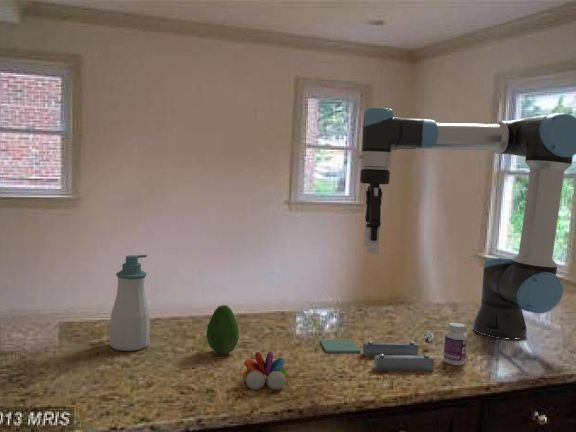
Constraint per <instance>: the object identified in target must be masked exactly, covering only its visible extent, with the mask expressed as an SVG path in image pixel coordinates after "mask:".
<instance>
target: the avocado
mask: <svg viewBox="0 0 576 432" xmlns="http://www.w3.org/2000/svg"><path fill="white" fill-rule="evenodd" d="M239 339H240V329H239V325H238V322H237V320H236V318H235V314H234V312H233V310H232V308H231V307H229V305H225V304H222V305H219V306H217V308H216V309H215V310H214V311H213V313H212V316H211V318H210V320H209V321H208V324H207V328H206V340H207V343H208V345H209V347H210V348H211V349H212V350H213V351H214V352H215V353H218V354H223V355H225V354H229V353H231V352H233V351H234V350H235V348H236V347H237V345H238V341H239Z"/></svg>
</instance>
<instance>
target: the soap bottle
mask: <svg viewBox="0 0 576 432" xmlns="http://www.w3.org/2000/svg"><path fill="white" fill-rule="evenodd" d="M141 258H147V254H137V255H134V254H132V255H131V254H130V255H125V262H124V263H122V264H121V266H122V269H121V270H119V271H117V272H116V273H115V276H116V277H117V290H116V294H115V300H114V302H113V307H112V311H111V313H110V323H109V339H108V340H109V341H108V342H109V346H110V347H111V348H112V349H114V350H115V351H122V352H134V351H140V350H143V349H146V347H148V346H149V345H150V340H151V339H150V337H151V336H150V335H151V334H150V333H151V331H150V330H151V328H150V327H151V323H150V309H149V305H148V301H147V296H146V291H145V290H146V289H145V279H146V277H147V272H146V271H144V270H142V264H141V263H139V259H141Z"/></svg>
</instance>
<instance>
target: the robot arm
mask: <svg viewBox="0 0 576 432" xmlns="http://www.w3.org/2000/svg"><path fill="white" fill-rule="evenodd" d="M362 121H363V122H362V137H361V138H362V139H361V140H362V141H361V142H362V143H361V154H359V156H358V158H359V159H360V160H361V165H360V166H361V167H363V168H362V169H360V177H359V179H360V180H359V182H360V183H361V184H369V186H367V190H366V191H365V197H366V198H365V202H366V203H365V204H366V209H365V217H364V218H365V220H364V221H365V223H364V224H365V227H364V242H363V243H364V244H363V245H364V247H367V248H366V250H367V251H366V254H369V255H370V254H372V255H373V254H374V255H378V254H379V249H380V248H379V247H380V246H379V245H380V229H381V225H382V223H381V215H382V213H381V210H382V209H381V207H382V197H383V191H382V188H381V187H380V185H388V184H390V177H391V171H390V169H389V168H391V162H392V150H393V151H394V150H440V151H441V150H442V151H443V150H445V151H447V150H449V151H450V150H451V151H452V150H453V151H457V150H459V151H465V150H466V151H493V153H495V154H497V155H512V156H517V157H518V156H519V157H525V159H524V162H525V164H527V166H528V167H529V175H528V181H527V183H528V184H527V190H526V198H525V203H524V211H523V212H524V213H523V217H522V218H523V219H522V227H521V233H520V241H519V248H518V254H517V255H515V256H514V257H488V258H486V259H485V260H484V264H483V268H482V269H483V270H482V271H483V273H482V288H481V303H480V307H479V309H478V312H477V314H476V316H475V318H474V321H473V324H472V325H473V327H472V329H473V328H474V330H476V331H478V332H480V333H483V334H486V335H490V336H494V337H499V338H509V339H515V338H523V339H525V338H526V337H527V333H528V332H527V331H528V330H527V329H528V328H527V325H526V321H525V316H524V312H523V311H525V312H530V313H532V314H545V313H548V312H550V311H551V310H553V309H554V308H556V307H557V306H558V305H559V303H560V302H561V300H562V298H563V295H564V285H563V282H562V281H561V279H560V278H559V276H557V271H558V264H557V263H556V262H555V260H554V258H553V257H554V256H553V255H554V249H555V241H556V236H557V235H556V234H557V228H558V221H559V214H560V205H561V197H562V191H563V185H564V184H563V183H564V176H565V171H566V170H568V169H569V168H570V167H572V164H573V158H574V156H575V155H576V116H574V115H572V114H570V113H566V112H551V113H547V114H542V115H535V116H529V117H524V118H519V119H513V120H498V121H497V122H495V123H492V124H491V123H488V124H486V123H444V122H443V123H442V122H437V121H435V120H434V119H426V118H412V117H411V118H409V117H396V116H395V115H394V111H393V108H387V107H369V108H367V109H366V110H364V113H363V120H362ZM474 330H473V331H474ZM524 337H525V338H524ZM499 338H498V339H499Z"/></svg>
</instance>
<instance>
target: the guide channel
mask: <svg viewBox="0 0 576 432" xmlns="http://www.w3.org/2000/svg"><path fill="white" fill-rule="evenodd" d="M362 345H363V346H362V348H363V349H362V355H364V357H374V358H373V359H374V360H373V369H374V370H375V371H381V372H383V371H385V372H386V371H389V372H390V371H398V372H399V371H401V372H402V371H410V372H411V371H413V372H414V371H416V372H417V371H421V372H423V371H424V372H425V371H429V372H431V371H434V363H435V358H434V357H433V356H432V355H429V354H428V353H423V355H419V348H420V347H419V343H417V342H415V341H412V340H411V341H409V342H392V341H391V342H386V341H385V342H379V341H375V342H374V341H372V340H368V341H365V342H363V344H362Z"/></svg>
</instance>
